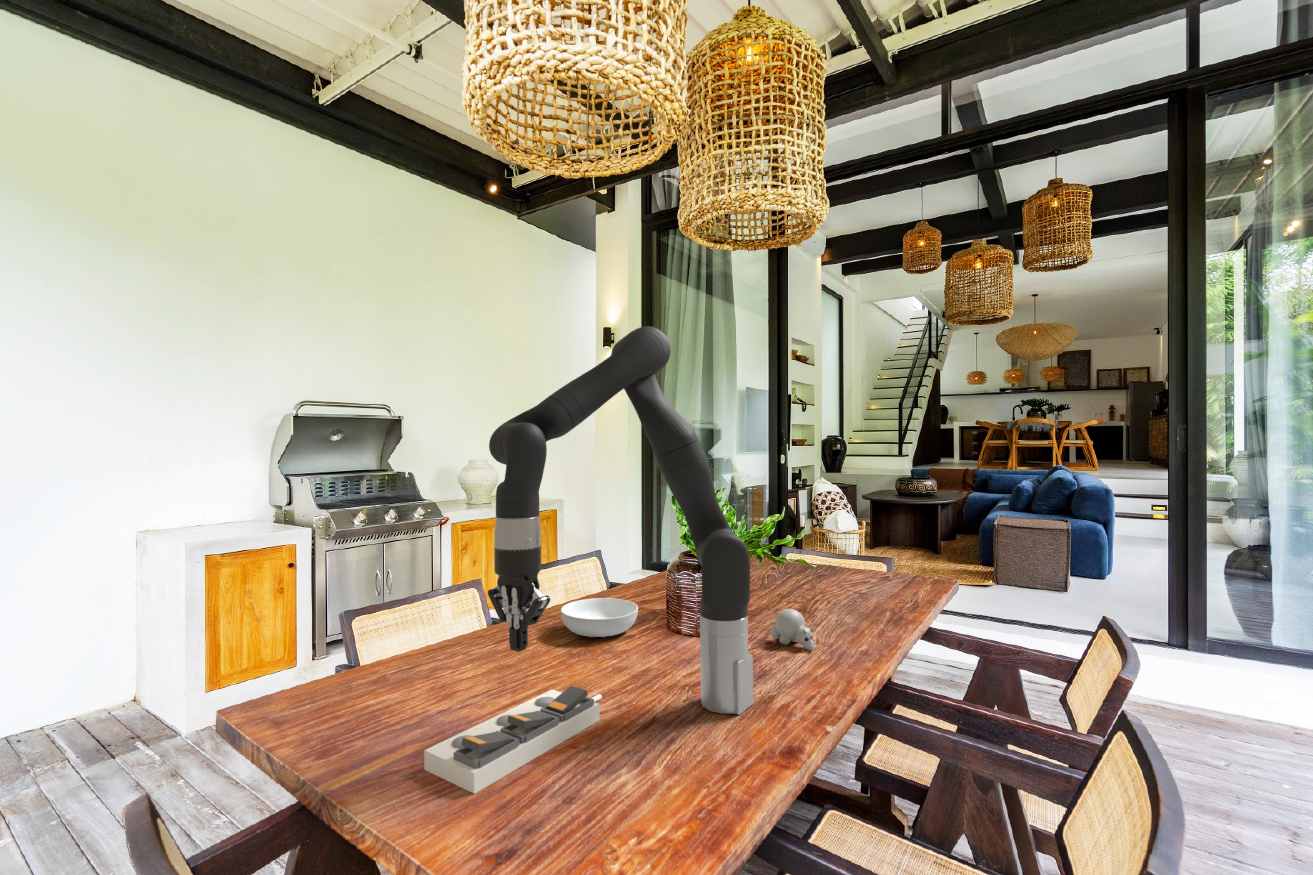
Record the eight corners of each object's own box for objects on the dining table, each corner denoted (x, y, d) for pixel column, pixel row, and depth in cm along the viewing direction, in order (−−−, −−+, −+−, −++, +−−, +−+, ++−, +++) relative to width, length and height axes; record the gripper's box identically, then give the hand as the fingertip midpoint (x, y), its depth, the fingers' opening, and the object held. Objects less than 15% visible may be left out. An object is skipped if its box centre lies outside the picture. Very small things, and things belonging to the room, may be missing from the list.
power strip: (578, 691, 123) (578, 672, 123) (624, 705, 116) (624, 684, 116) (424, 769, 94) (424, 743, 94) (474, 793, 87) (474, 765, 87)
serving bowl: (566, 649, 150) (565, 621, 150) (557, 625, 170) (556, 601, 170) (646, 640, 155) (646, 614, 155) (628, 618, 175) (628, 595, 175)
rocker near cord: (571, 690, 111) (570, 684, 111) (587, 695, 109) (586, 689, 109) (547, 711, 106) (546, 705, 106) (564, 716, 104) (563, 710, 104)
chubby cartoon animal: (798, 664, 144) (807, 634, 141) (765, 633, 153) (773, 605, 151) (819, 657, 148) (828, 628, 145) (785, 628, 157) (793, 600, 155)
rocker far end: (493, 738, 96) (495, 731, 97) (510, 745, 94) (512, 737, 94) (461, 744, 91) (462, 737, 92) (478, 752, 89) (480, 744, 89)
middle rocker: (535, 717, 104) (536, 710, 104) (551, 723, 101) (552, 716, 102) (507, 722, 99) (508, 714, 99) (524, 728, 96) (525, 720, 97)
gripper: (563, 544, 98) (563, 650, 98) (508, 537, 106) (508, 636, 105) (529, 550, 92) (529, 664, 92) (473, 543, 100) (473, 648, 99)
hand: (518, 649), depth 99 cm, fingers closed
